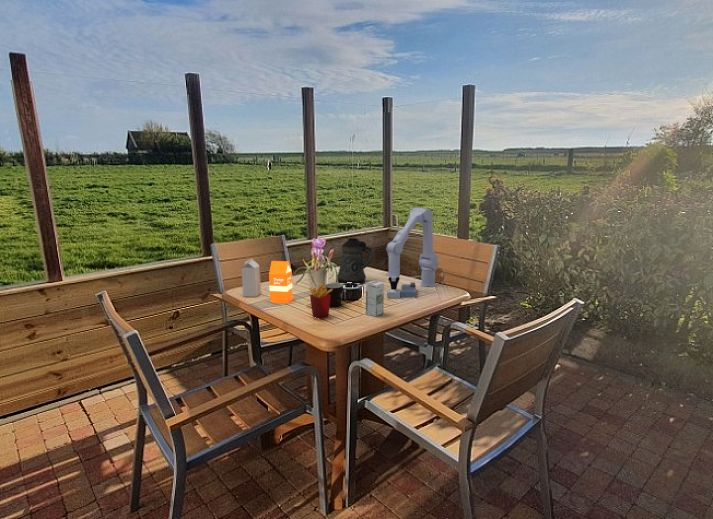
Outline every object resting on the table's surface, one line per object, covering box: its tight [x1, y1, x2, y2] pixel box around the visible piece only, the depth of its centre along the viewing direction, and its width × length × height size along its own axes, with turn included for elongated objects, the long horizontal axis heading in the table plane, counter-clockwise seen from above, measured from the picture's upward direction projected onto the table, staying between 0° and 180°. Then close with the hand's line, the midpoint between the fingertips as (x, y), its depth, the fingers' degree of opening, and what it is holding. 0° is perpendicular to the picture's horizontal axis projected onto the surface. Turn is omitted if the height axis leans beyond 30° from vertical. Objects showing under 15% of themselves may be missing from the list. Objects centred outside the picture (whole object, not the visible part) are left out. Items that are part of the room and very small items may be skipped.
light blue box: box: [386, 288, 401, 299], centre depth 213 cm, size 6×6×3 cm
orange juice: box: [268, 260, 294, 304], centre depth 206 cm, size 8×9×20 cm
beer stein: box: [336, 237, 374, 285], centre depth 241 cm, size 16×19×25 cm
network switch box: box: [400, 282, 417, 298], centre depth 218 cm, size 14×8×4 cm, turn 173°
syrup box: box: [365, 280, 385, 317], centre depth 186 cm, size 6×6×14 cm
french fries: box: [309, 283, 333, 320], centre depth 183 cm, size 9×8×15 cm
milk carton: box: [240, 257, 262, 298], centre depth 216 cm, size 7×7×19 cm
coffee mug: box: [325, 282, 344, 309], centre depth 200 cm, size 12×9×10 cm
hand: (393, 291), depth 217 cm, fingers closed
